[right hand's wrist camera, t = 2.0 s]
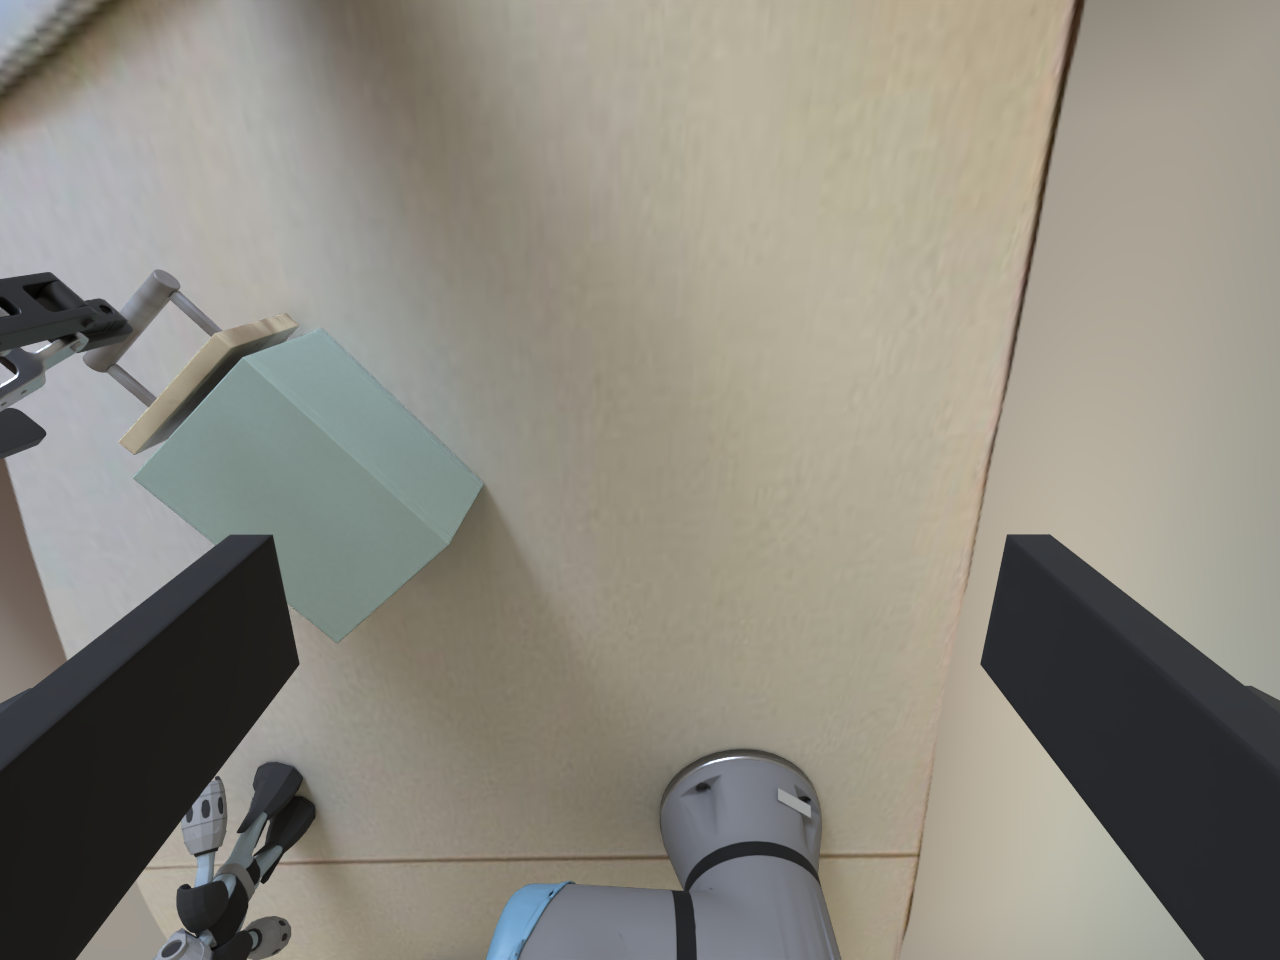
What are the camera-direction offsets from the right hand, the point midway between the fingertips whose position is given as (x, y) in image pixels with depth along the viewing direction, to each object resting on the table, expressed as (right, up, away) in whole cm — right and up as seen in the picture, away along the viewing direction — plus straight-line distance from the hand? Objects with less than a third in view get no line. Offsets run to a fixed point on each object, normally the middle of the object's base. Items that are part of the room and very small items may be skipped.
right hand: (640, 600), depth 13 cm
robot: (-34, -28, +54) cm, 70 cm away
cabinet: (-22, +4, +42) cm, 47 cm away
